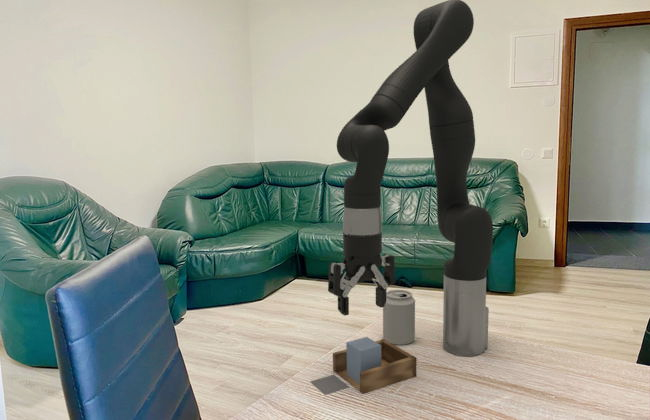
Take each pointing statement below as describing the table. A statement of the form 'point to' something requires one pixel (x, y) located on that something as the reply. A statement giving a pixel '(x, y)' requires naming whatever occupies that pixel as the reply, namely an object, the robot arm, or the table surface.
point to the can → (399, 317)
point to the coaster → (329, 384)
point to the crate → (379, 368)
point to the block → (362, 356)
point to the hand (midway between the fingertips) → (362, 310)
